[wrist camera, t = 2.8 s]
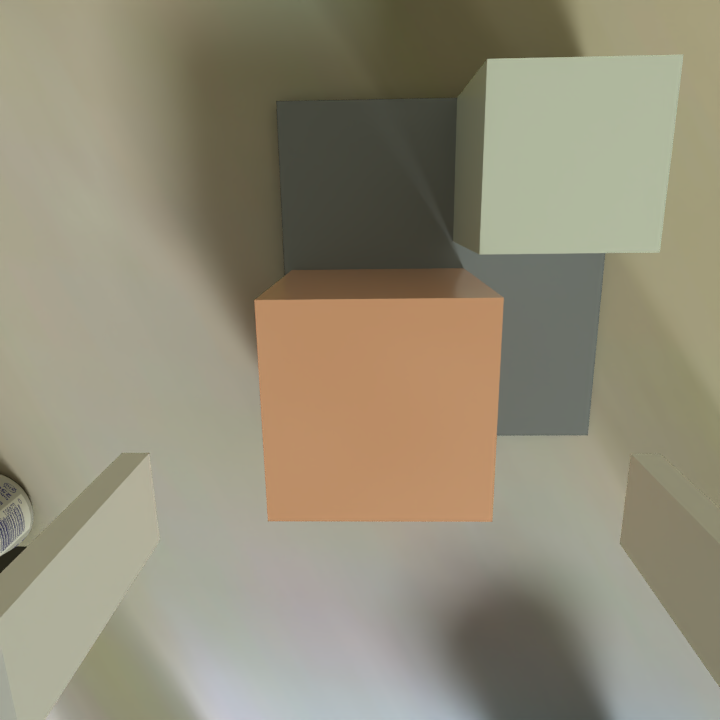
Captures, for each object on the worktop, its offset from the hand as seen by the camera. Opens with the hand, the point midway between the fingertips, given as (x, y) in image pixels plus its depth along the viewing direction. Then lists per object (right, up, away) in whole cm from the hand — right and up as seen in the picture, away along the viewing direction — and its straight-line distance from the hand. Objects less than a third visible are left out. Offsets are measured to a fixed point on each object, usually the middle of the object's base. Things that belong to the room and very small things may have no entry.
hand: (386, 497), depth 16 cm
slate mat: (+4, +8, +16) cm, 18 cm away
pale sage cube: (+8, +13, +14) cm, 21 cm away
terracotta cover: (0, +4, +16) cm, 17 cm away
